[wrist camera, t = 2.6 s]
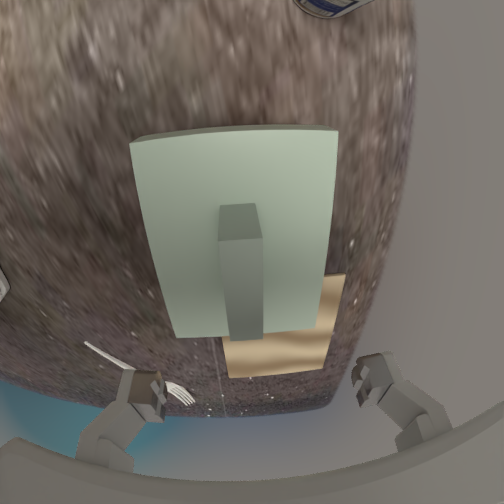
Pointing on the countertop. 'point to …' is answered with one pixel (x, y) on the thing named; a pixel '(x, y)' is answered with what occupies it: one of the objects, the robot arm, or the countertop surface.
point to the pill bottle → (330, 7)
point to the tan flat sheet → (288, 341)
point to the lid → (238, 224)
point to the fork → (176, 392)
